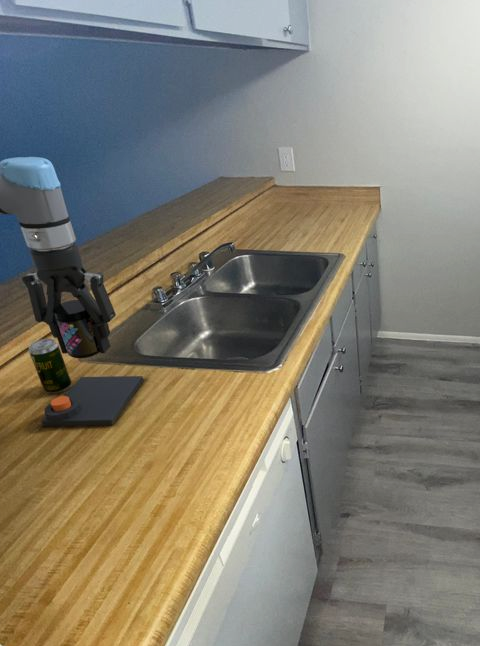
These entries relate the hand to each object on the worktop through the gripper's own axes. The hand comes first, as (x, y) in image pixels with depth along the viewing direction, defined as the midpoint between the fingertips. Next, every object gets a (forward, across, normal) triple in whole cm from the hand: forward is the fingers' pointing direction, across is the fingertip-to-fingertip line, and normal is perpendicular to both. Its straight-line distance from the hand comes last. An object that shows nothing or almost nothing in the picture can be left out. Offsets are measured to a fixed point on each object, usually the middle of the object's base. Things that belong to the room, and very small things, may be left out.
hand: (86, 349), depth 98 cm
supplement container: (+1, 0, 0) cm, 1 cm away
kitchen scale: (+15, -2, +2) cm, 15 cm away
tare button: (+12, -6, -3) cm, 14 cm away
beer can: (+15, -14, +7) cm, 22 cm away
